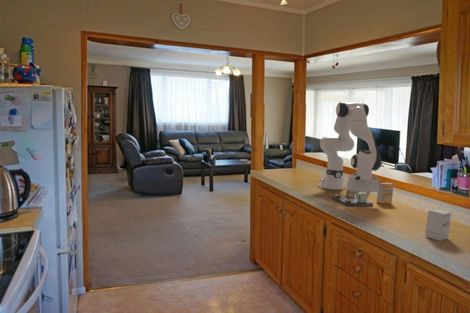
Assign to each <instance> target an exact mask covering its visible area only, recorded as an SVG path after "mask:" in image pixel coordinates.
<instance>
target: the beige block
mask: <svg viewBox="0 0 470 313" xmlns="http://www.w3.org/2000/svg"><path fill="white" fill-rule="evenodd" d="M345 191H346V192H345V196H347V197H349V198H355V196H356V194H355V192H350V191H348V190H347V189H346V190H345Z"/></svg>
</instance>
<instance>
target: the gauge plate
mask: <svg viewBox="0 0 470 313" xmlns="http://www.w3.org/2000/svg"><path fill="white" fill-rule="evenodd" d="M330 199H331V200H332V199H333V200H332V201H334V200H335V202H337V203H338V204H341V205H343V206H344V207H374V203H373V202H371V201H370V200H367V201H366V202H359V201H357V198H356V195H355V198H349V197H347V196H346V195H341V193H338V192H335V195H331V197H330Z"/></svg>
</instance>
